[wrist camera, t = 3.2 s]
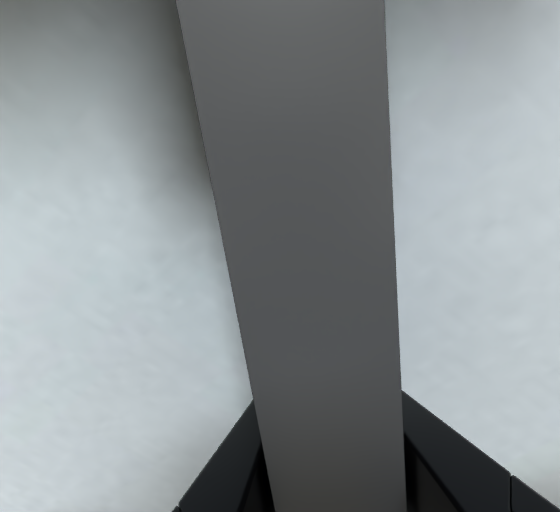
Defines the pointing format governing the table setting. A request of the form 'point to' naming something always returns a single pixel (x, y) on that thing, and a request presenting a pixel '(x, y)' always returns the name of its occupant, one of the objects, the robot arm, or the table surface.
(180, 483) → the table surface
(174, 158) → the table surface
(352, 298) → the plug
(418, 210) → the table surface
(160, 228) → the table surface
